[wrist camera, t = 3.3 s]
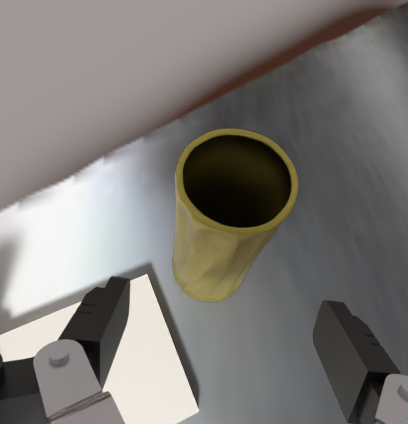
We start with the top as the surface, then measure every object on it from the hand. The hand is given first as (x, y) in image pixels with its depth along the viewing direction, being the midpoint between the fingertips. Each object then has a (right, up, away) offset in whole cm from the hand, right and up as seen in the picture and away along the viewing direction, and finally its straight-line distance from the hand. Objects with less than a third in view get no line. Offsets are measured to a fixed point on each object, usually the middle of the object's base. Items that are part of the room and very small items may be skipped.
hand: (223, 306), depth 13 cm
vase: (0, -1, +13) cm, 13 cm away
